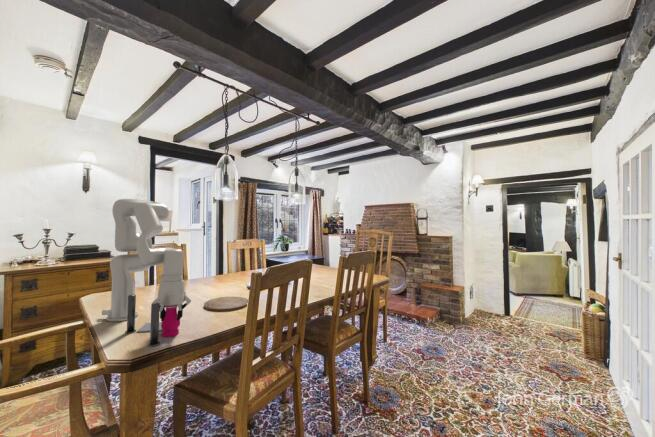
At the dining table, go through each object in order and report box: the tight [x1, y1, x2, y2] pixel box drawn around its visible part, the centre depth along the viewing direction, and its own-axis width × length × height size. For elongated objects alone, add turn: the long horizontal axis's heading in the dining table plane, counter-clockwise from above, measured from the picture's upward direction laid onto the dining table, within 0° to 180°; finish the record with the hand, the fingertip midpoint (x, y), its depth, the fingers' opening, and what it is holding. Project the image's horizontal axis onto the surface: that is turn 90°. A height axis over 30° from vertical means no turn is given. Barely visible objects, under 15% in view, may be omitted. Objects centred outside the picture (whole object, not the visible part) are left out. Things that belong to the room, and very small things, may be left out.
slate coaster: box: [136, 321, 163, 333], centre depth 125 cm, size 10×10×1 cm
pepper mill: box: [161, 305, 181, 338], centre depth 118 cm, size 7×7×20 cm
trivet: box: [203, 296, 249, 312], centre depth 161 cm, size 25×25×2 cm
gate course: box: [124, 293, 161, 347], centre depth 115 cm, size 20×22×16 cm
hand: (171, 319), depth 117 cm, fingers closed on pepper mill, 5 cm apart
